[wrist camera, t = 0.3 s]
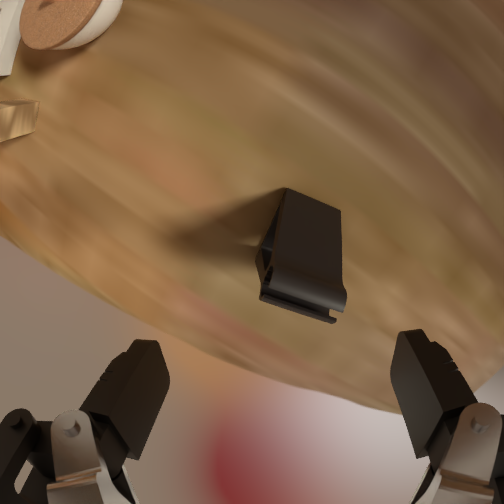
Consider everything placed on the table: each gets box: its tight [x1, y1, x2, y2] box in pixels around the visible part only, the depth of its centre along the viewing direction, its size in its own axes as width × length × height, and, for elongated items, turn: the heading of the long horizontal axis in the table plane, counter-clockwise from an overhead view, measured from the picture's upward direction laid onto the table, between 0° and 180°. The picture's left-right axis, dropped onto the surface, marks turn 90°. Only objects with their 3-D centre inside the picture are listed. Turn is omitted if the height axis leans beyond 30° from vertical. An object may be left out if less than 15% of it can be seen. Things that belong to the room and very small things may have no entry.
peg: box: [0, 98, 40, 142], centre depth 22 cm, size 4×4×10 cm
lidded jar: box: [19, 0, 123, 50], centre depth 16 cm, size 11×11×9 cm
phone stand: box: [255, 188, 347, 324], centre depth 26 cm, size 9×6×12 cm, turn 159°
